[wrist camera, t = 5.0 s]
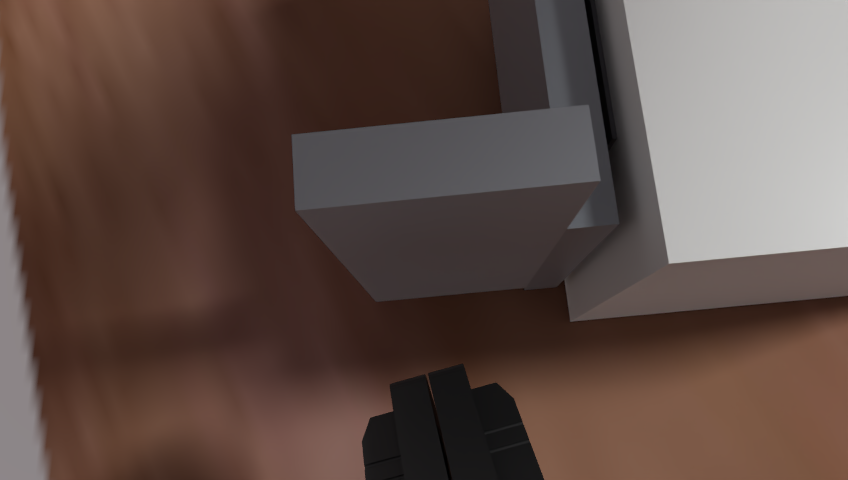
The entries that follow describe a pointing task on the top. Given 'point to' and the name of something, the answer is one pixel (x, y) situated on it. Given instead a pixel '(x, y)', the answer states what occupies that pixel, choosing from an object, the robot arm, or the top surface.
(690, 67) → the knobbed white box
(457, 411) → the robot arm
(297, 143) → the side door
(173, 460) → the top surface
